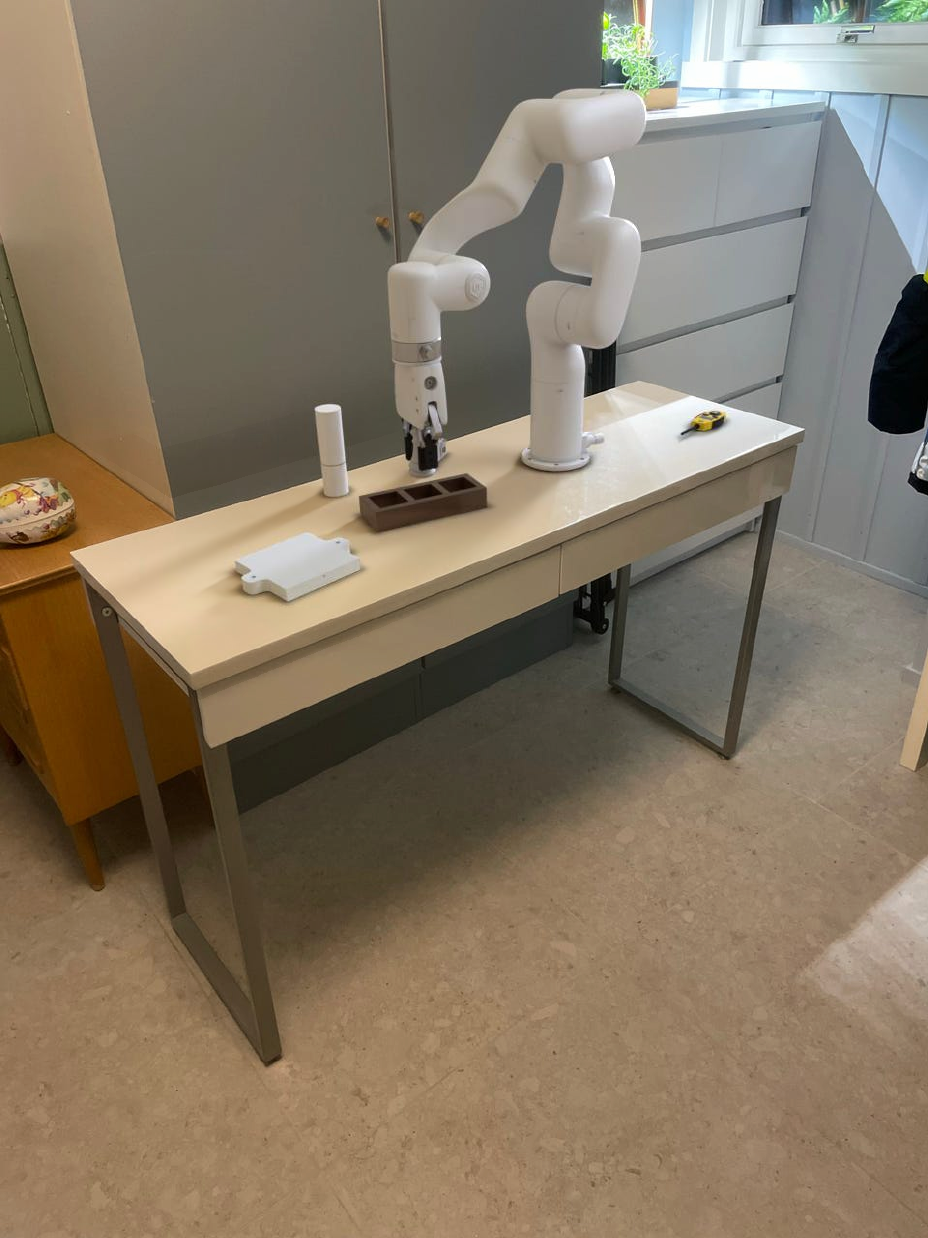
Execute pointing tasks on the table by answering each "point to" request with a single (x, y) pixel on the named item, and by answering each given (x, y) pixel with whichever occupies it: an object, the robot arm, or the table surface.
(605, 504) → the table surface
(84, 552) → the table surface
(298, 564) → the mounting plate
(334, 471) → the tube
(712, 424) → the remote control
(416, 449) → the rook chess piece
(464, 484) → the piece stand
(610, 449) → the table surface
